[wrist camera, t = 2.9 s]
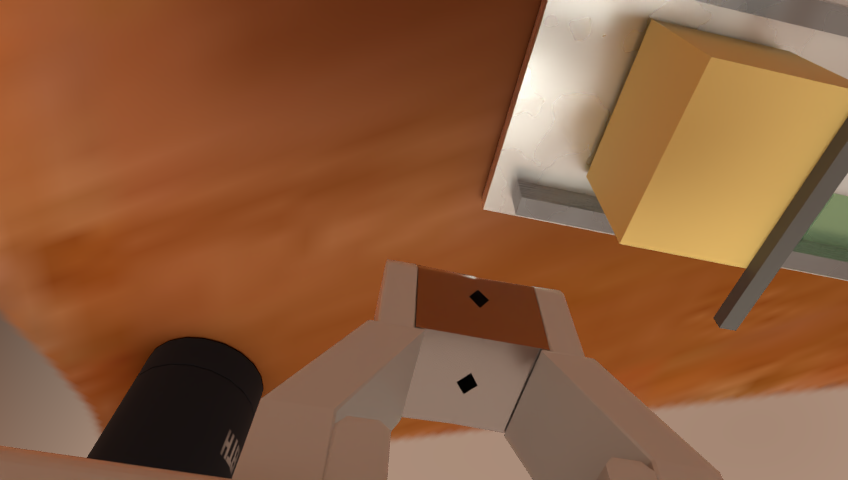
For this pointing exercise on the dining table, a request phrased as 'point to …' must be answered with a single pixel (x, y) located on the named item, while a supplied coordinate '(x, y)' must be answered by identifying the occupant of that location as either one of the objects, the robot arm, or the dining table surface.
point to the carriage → (722, 154)
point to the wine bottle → (185, 410)
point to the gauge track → (602, 85)
